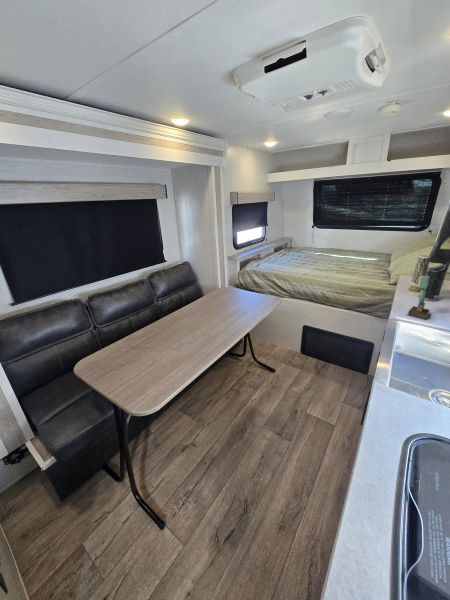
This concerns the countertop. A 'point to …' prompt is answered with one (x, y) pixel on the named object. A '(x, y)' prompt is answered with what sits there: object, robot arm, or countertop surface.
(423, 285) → the brush
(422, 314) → the brush stand
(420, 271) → the bark textured cylinder
